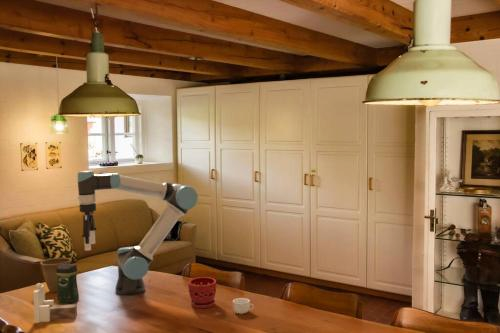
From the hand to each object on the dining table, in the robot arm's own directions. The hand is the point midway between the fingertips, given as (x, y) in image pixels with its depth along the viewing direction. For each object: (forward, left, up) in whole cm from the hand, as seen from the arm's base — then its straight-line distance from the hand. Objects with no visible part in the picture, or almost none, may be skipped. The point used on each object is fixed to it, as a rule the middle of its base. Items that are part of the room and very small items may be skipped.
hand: (90, 247), depth 243 cm
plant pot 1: (+23, -27, -28) cm, 45 cm away
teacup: (-71, +24, -29) cm, 80 cm away
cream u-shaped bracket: (+18, +15, -28) cm, 37 cm away
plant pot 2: (-53, +11, -29) cm, 61 cm away
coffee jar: (+13, -8, -28) cm, 32 cm away
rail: (+12, +16, -28) cm, 34 cm away
